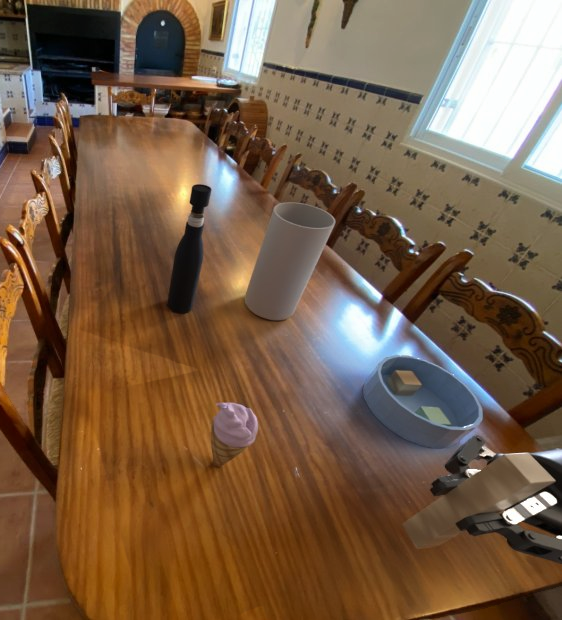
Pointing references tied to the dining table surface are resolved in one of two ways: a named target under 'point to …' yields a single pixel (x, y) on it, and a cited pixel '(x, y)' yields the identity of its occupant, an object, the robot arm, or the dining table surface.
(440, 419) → the sage block
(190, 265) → the black bottle
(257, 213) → the dining table surface
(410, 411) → the bowl
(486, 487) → the brown wooden bar
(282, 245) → the cylinder vase
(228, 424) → the ice cream cone
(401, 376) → the maple block
